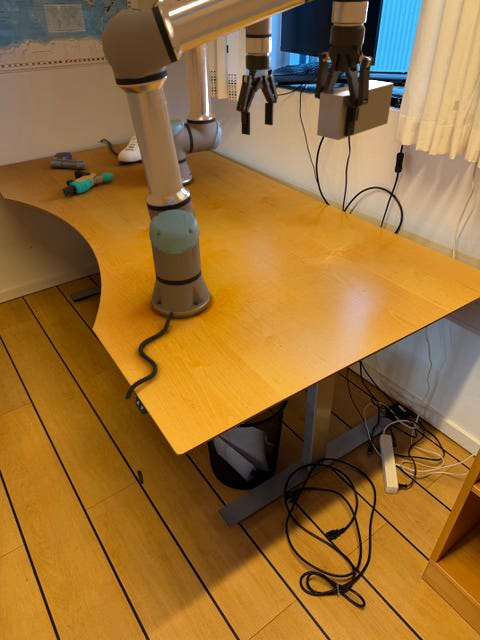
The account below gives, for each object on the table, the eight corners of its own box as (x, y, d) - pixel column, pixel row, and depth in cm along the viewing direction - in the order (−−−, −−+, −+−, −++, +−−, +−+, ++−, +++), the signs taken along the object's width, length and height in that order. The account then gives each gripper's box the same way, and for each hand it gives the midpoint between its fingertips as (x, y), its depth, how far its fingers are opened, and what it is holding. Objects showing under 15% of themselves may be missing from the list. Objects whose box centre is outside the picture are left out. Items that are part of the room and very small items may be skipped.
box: (338, 140, 115) (343, 96, 109) (316, 135, 119) (320, 92, 113) (387, 123, 127) (393, 83, 122) (366, 119, 131) (371, 80, 125)
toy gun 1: (98, 160, 223) (83, 171, 211) (61, 158, 226) (45, 169, 214) (96, 152, 220) (81, 162, 208) (59, 150, 223) (43, 160, 212)
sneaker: (112, 165, 217) (107, 137, 210) (140, 147, 239) (137, 122, 232) (133, 167, 215) (128, 139, 207) (159, 148, 237) (156, 123, 230)
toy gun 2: (40, 183, 186) (69, 189, 180) (86, 165, 204) (114, 170, 199) (43, 194, 188) (72, 201, 183) (88, 175, 207) (115, 180, 201)
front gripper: (396, 25, 102) (379, 136, 115) (323, 21, 113) (315, 122, 127) (377, 28, 98) (361, 143, 111) (303, 23, 109) (297, 128, 123)
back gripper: (269, 48, 150) (268, 119, 162) (223, 58, 133) (225, 136, 146) (290, 49, 146) (287, 122, 159) (245, 60, 130) (245, 140, 142)
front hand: (337, 132), depth 119 cm, fingers closed on box, 7 cm apart
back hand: (257, 129), depth 152 cm, fingers open, 13 cm apart
